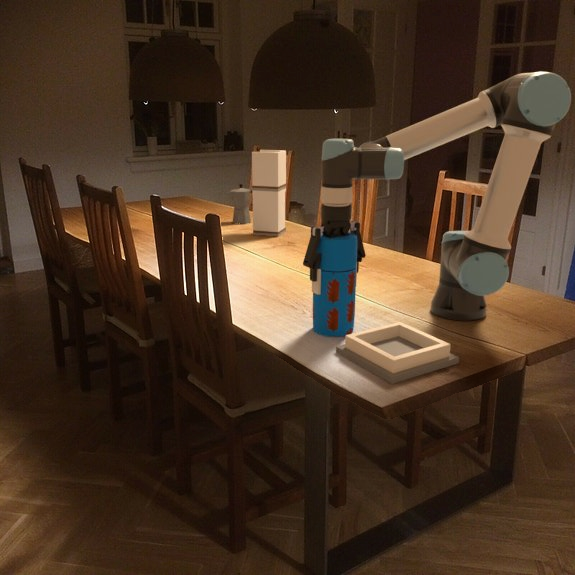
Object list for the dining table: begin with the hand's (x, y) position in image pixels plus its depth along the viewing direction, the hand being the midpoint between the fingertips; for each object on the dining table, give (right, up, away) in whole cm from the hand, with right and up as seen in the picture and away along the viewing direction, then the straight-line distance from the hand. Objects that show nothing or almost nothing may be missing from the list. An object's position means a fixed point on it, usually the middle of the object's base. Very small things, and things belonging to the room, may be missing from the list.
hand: (334, 289), depth 161 cm
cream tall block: (-20, +24, +113) cm, 117 cm away
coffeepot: (-32, +31, +136) cm, 143 cm away
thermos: (0, -11, +3) cm, 11 cm away
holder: (+13, -16, -14) cm, 25 cm away
